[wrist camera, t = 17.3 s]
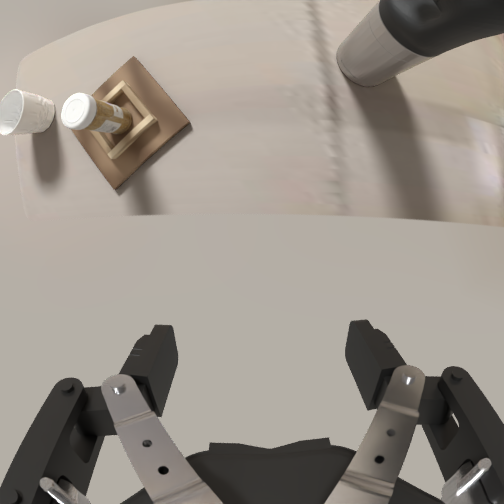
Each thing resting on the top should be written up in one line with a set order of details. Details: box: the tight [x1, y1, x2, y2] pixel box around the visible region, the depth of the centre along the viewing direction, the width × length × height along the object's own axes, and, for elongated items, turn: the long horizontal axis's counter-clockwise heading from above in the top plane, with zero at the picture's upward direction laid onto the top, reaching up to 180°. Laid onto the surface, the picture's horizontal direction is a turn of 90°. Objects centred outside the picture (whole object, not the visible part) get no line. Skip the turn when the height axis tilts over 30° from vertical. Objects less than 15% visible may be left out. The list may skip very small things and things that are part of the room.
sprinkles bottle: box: [61, 93, 132, 134], centre depth 31 cm, size 5×5×14 cm
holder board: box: [71, 56, 190, 189], centre depth 37 cm, size 16×16×3 cm
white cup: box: [0, 89, 55, 135], centre depth 32 cm, size 8×8×10 cm
